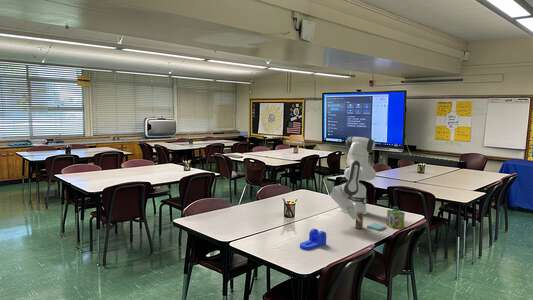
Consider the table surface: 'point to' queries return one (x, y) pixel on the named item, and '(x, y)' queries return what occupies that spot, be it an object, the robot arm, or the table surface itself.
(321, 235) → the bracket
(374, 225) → the teal pad
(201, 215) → the table surface
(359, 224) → the walnut block
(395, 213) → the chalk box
